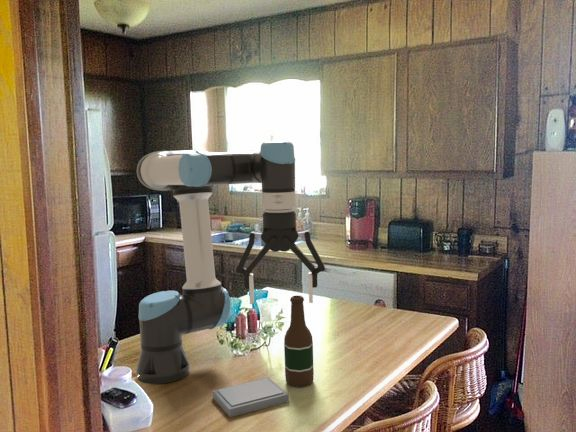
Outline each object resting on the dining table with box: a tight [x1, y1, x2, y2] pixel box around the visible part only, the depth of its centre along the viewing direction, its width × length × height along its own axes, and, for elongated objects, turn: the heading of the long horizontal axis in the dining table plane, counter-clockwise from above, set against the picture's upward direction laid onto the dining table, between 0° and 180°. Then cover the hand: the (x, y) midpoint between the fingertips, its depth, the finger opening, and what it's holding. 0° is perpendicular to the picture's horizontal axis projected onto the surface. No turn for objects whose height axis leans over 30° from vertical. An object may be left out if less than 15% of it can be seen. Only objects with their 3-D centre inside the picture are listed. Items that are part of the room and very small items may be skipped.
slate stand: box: [212, 377, 290, 418], centre depth 137 cm, size 12×16×2 cm
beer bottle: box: [283, 295, 315, 389], centre depth 146 cm, size 8×8×24 cm
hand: (281, 302), depth 124 cm, fingers open, 13 cm apart
